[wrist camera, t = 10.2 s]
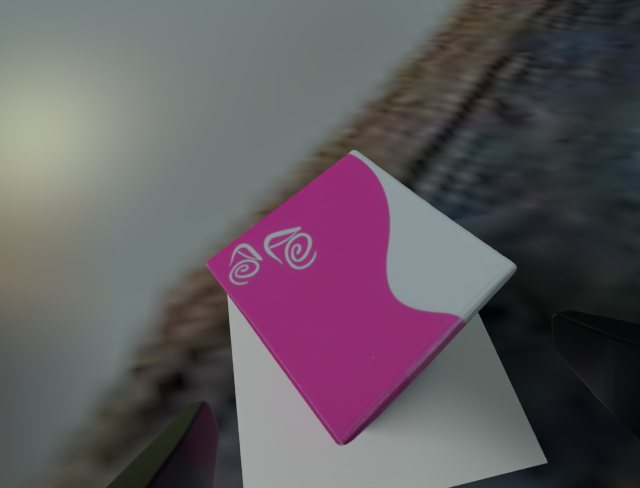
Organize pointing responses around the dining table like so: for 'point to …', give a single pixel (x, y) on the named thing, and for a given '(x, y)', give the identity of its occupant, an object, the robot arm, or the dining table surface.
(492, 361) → the mat
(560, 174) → the dining table surface
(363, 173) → the supplement box
